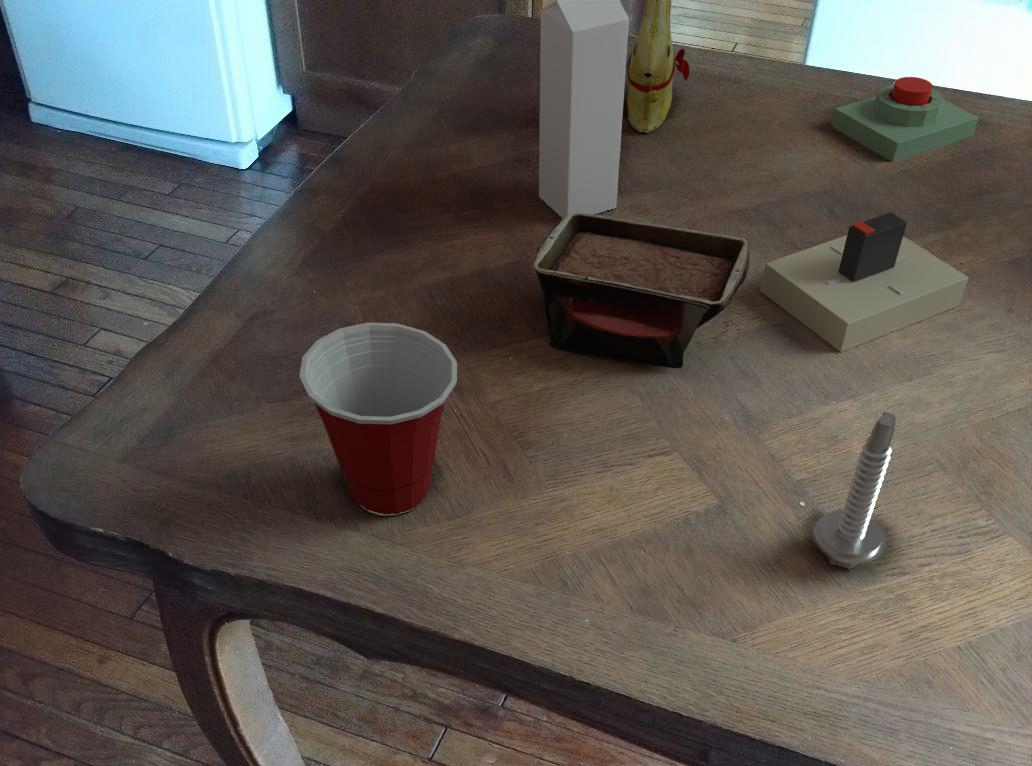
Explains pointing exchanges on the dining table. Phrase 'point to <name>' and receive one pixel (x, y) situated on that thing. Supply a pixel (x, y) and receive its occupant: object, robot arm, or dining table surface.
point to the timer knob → (872, 246)
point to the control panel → (861, 292)
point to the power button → (911, 91)
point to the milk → (581, 104)
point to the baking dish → (634, 286)
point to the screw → (859, 505)
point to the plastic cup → (381, 408)
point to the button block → (903, 124)
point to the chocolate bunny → (653, 68)
